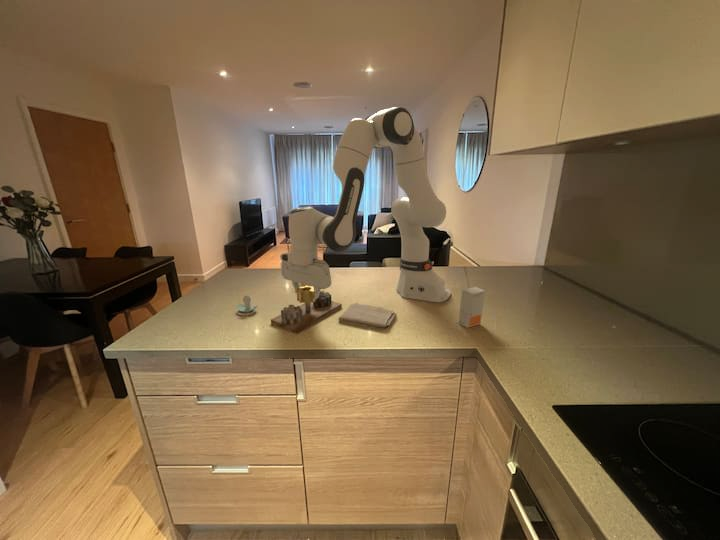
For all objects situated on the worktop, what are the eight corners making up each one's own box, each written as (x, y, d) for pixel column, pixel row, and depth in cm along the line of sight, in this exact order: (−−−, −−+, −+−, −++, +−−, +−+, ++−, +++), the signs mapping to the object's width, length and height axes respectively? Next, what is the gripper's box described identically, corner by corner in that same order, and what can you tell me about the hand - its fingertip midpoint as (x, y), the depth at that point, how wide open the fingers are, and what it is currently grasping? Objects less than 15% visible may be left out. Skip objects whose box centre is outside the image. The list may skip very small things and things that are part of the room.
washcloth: (388, 333, 91) (388, 324, 90) (337, 323, 98) (336, 315, 97) (397, 316, 102) (397, 308, 101) (350, 309, 108) (350, 301, 107)
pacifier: (251, 317, 102) (260, 309, 107) (248, 301, 100) (258, 294, 105) (232, 315, 103) (242, 308, 109) (230, 299, 101) (240, 293, 107)
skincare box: (467, 328, 93) (472, 294, 89) (457, 323, 96) (461, 289, 93) (481, 324, 95) (485, 290, 92) (471, 319, 99) (475, 286, 95)
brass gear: (320, 298, 101) (320, 287, 100) (307, 305, 96) (306, 293, 95) (307, 294, 105) (306, 284, 104) (293, 300, 100) (292, 289, 99)
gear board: (341, 307, 108) (341, 291, 106) (296, 333, 90) (294, 314, 88) (317, 300, 115) (317, 285, 113) (271, 323, 97) (269, 305, 95)
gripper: (334, 259, 93) (335, 299, 97) (290, 250, 104) (293, 286, 108) (321, 263, 88) (323, 305, 92) (276, 254, 99) (280, 292, 103)
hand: (306, 295), depth 100 cm, fingers closed on brass gear, 7 cm apart
